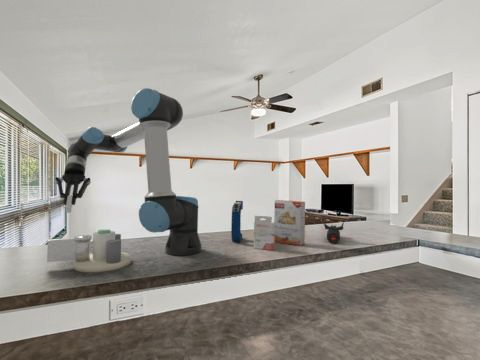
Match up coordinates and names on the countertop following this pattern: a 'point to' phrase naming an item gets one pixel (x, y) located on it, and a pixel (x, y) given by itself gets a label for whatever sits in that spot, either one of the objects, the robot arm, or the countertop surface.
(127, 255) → the base
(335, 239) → the horned monster figurine
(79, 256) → the wing knob
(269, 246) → the ink cartridge box
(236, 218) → the handheld scanner
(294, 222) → the cracker box
